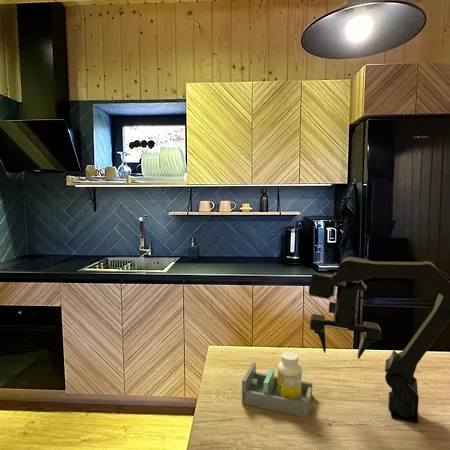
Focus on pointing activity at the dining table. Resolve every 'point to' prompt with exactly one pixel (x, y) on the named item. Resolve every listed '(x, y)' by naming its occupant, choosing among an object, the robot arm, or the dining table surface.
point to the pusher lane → (274, 395)
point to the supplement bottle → (289, 377)
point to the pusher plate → (269, 382)
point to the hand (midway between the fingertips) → (341, 355)
